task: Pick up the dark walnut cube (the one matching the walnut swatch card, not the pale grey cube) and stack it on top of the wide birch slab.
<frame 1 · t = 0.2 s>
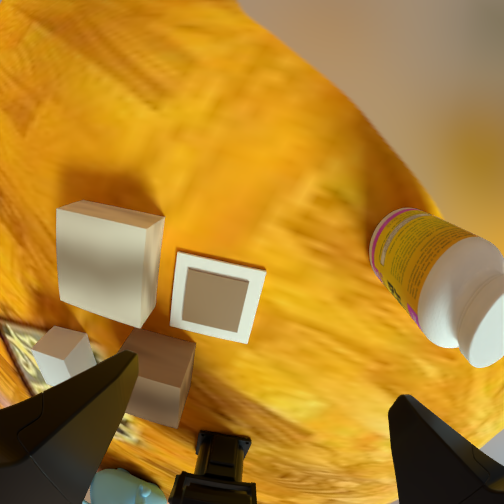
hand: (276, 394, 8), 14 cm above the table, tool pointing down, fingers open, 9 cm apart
grey cube: (75, 347, 26), on the table
decorative pot: (132, 479, 38), on the table
walnut swatch card: (214, 299, 23), on the table
walnut cube: (163, 358, 26), on the table
supplement bottle: (401, 245, 21), on the table
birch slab: (118, 252, 22), on the table
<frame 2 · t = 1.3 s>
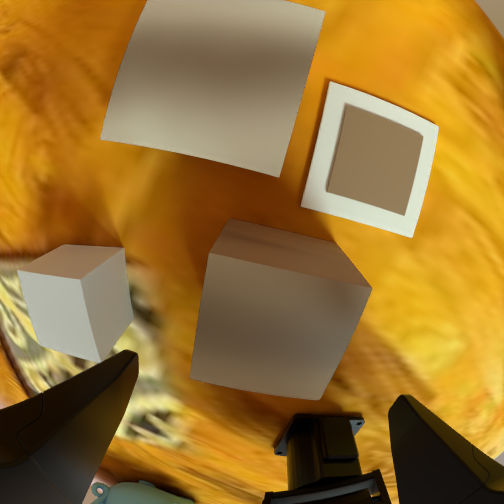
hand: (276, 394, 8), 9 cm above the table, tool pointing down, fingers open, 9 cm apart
grey cube: (97, 281, 17), on the table
decorative pot: (157, 494, 29), on the table
walnut swatch card: (375, 161, 14), on the table
walnut cube: (270, 279, 16), on the table
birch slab: (221, 86, 13), on the table
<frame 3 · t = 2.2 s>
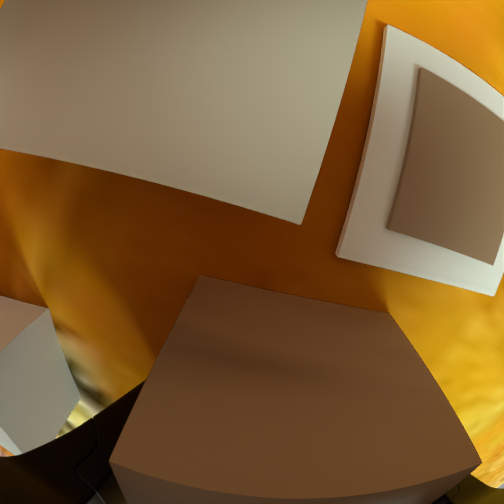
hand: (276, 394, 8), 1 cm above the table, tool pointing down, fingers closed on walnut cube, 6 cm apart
grey cube: (30, 344, 10), on the table
walnut swatch card: (462, 172, 7), on the table
walnut cube: (276, 371, 9), on the table, touching gripper
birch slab: (186, 30, 6), on the table
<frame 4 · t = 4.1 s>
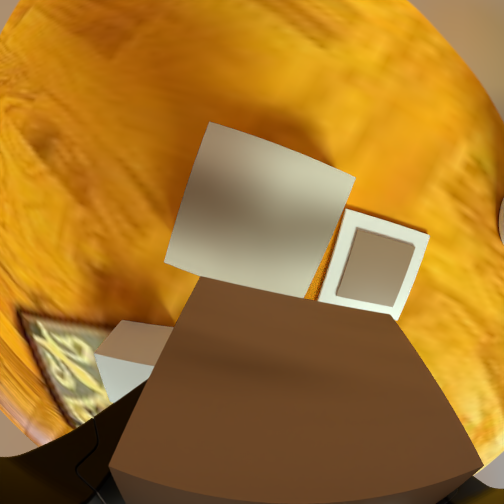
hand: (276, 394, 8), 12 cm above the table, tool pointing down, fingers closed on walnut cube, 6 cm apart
grey cube: (152, 348, 22), on the table
walnut swatch card: (375, 268, 19), on the table
walnut cube: (276, 373, 9), point 11 cm above the table, touching gripper
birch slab: (258, 209, 18), on the table
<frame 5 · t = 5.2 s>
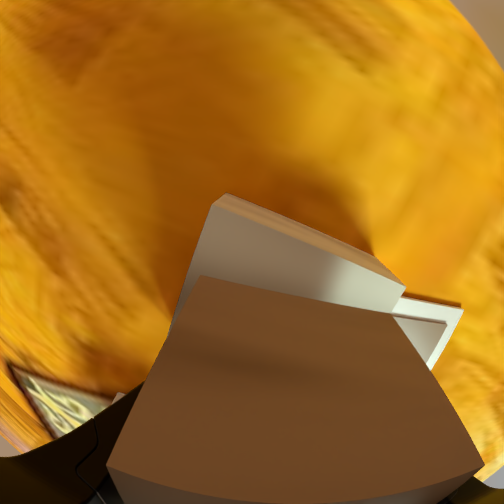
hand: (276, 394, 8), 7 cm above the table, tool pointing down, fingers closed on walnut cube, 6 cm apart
walnut swatch card: (401, 349, 15), on the table
walnut cube: (276, 373, 9), point 6 cm above the table, touching gripper
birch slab: (271, 294, 15), on the table
when the fingers open (6 cm above the table, at t = 5.7 s): walnut cube drops 2 cm, resting on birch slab.
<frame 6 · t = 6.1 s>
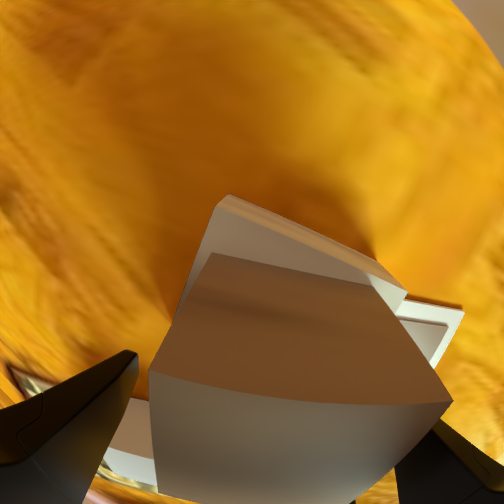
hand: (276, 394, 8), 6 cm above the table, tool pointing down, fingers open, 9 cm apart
grey cube: (153, 420, 18), on the table
walnut swatch card: (402, 351, 15), on the table
walnut cube: (276, 340, 11), point 4 cm above the table, touching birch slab
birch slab: (272, 296, 15), on the table, touching walnut cube
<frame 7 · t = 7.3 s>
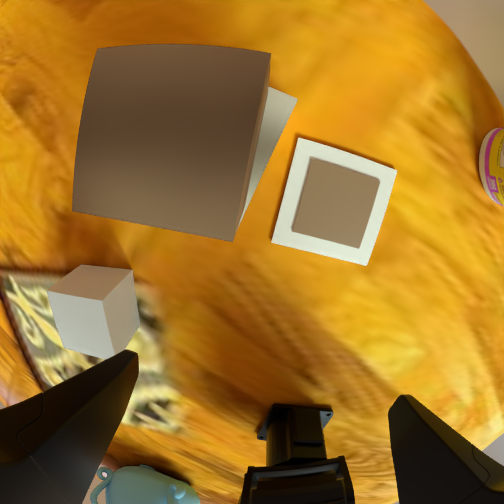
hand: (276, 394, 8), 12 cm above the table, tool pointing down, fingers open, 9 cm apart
grey cube: (110, 294, 21), on the table
decorative pot: (156, 477, 34), on the table
walnut swatch card: (335, 204, 18), on the table
walnut cube: (197, 139, 13), point 4 cm above the table
supplement bottle: (497, 165, 16), on the table
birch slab: (207, 141, 17), on the table
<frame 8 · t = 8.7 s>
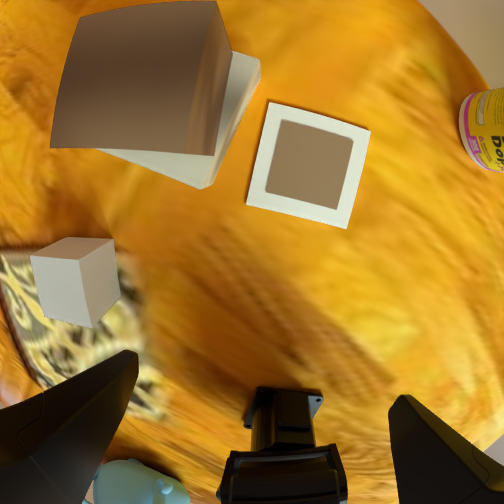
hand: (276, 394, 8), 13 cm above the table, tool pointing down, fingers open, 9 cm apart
grey cube: (92, 266, 21), on the table
decorative pot: (146, 474, 32), on the table
walnut swatch card: (309, 165, 18), on the table
walnut cube: (170, 99, 13), point 4 cm above the table, touching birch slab
supplement bottle: (480, 131, 16), on the table
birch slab: (183, 110, 17), on the table, touching walnut cube
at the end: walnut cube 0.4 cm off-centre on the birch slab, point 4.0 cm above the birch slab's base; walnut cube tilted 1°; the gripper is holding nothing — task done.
